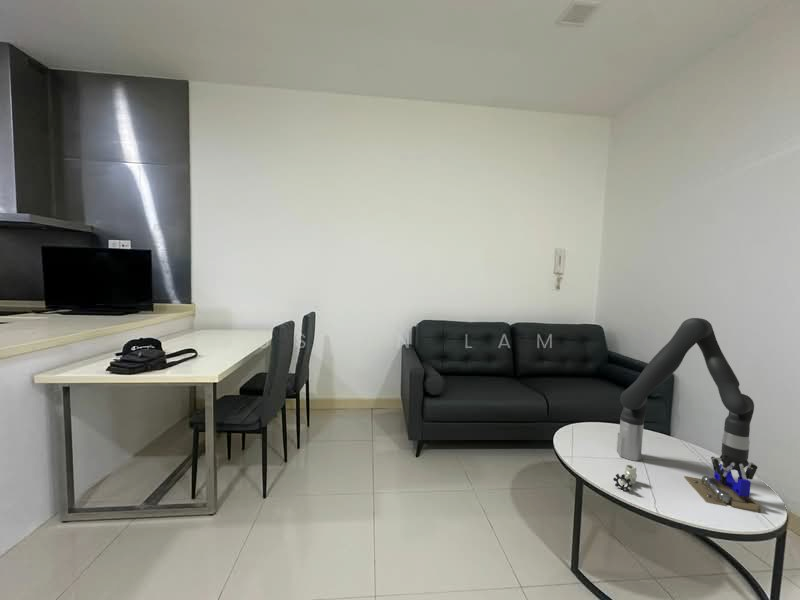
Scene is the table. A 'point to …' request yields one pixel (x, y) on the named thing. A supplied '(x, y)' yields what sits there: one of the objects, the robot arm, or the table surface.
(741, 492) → the blue curved bracket
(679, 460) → the table surface
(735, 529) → the table surface
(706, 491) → the hinge base
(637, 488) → the table surface
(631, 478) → the valve
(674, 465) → the table surface
